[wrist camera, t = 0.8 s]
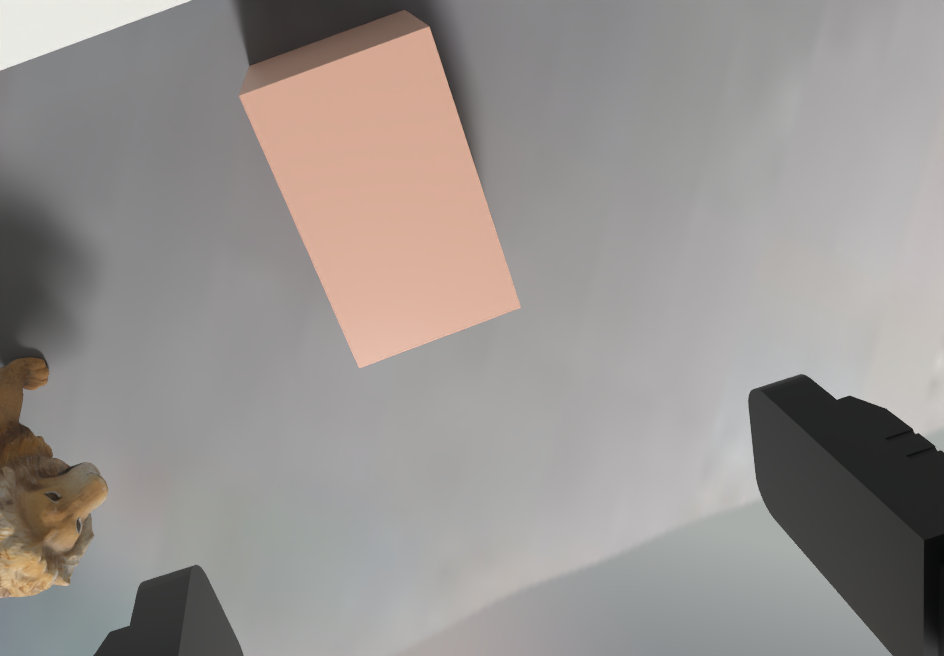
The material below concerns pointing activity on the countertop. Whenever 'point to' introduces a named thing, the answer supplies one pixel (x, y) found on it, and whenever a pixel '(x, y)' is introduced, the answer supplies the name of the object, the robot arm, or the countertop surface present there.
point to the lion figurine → (39, 496)
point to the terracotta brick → (381, 185)
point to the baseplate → (63, 23)
